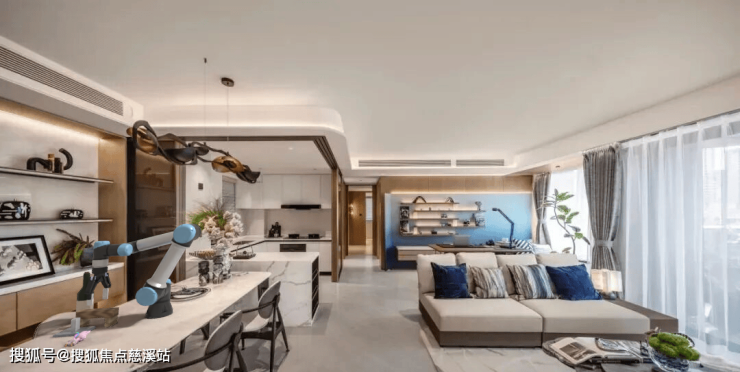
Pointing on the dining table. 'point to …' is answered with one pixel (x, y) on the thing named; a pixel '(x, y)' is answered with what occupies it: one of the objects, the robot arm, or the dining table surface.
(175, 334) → the dining table surface
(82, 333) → the rabbit figure
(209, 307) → the dining table surface
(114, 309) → the walnut beam
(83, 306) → the wine bottle
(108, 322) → the board
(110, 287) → the robot arm
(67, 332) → the fulcrum
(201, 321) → the dining table surface
